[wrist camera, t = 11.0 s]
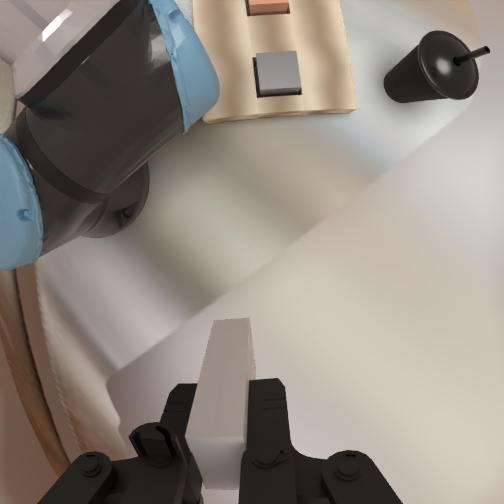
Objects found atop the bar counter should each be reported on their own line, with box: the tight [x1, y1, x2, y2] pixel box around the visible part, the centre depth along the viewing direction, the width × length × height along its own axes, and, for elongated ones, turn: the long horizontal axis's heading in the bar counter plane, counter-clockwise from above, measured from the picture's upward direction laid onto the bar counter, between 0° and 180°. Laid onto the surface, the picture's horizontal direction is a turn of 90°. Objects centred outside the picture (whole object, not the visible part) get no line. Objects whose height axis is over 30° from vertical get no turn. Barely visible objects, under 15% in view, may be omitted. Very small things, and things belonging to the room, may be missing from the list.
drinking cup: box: [384, 31, 490, 103], centre depth 27 cm, size 8×8×20 cm
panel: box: [192, 0, 357, 124], centre depth 34 cm, size 18×20×4 cm
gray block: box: [256, 51, 301, 98], centre depth 33 cm, size 4×4×5 cm
